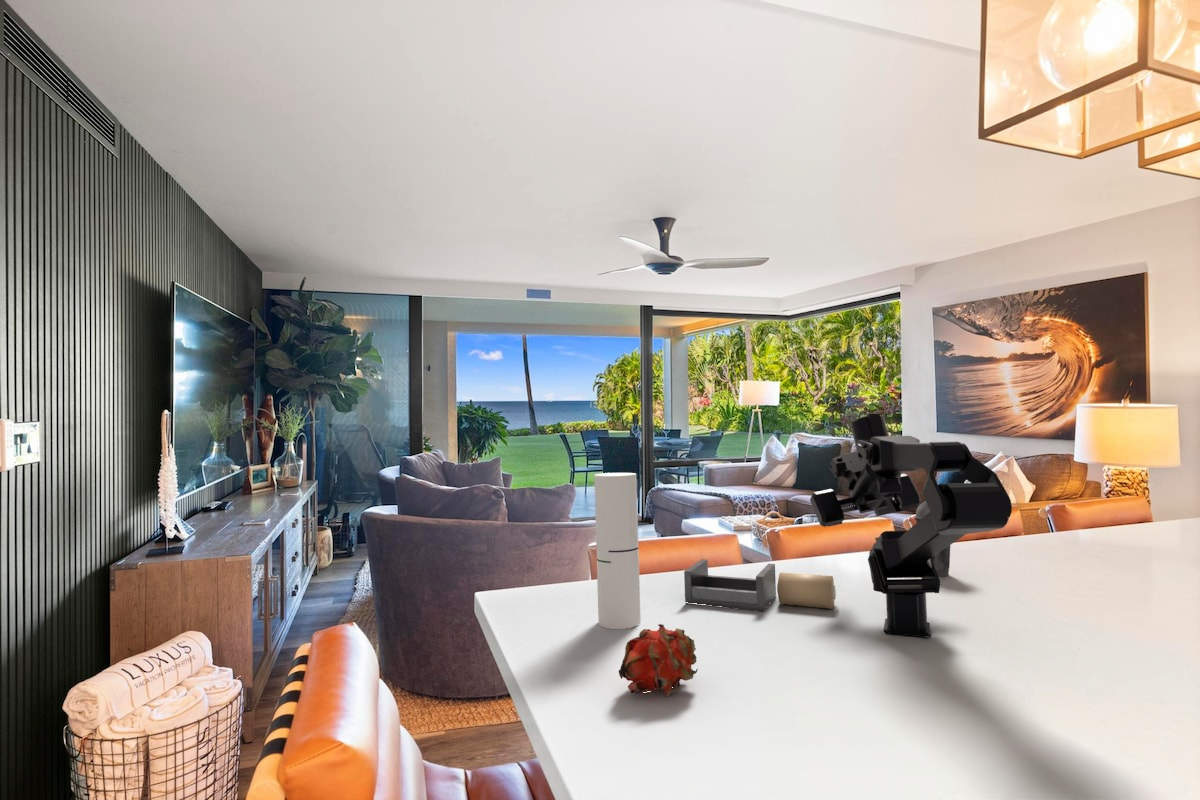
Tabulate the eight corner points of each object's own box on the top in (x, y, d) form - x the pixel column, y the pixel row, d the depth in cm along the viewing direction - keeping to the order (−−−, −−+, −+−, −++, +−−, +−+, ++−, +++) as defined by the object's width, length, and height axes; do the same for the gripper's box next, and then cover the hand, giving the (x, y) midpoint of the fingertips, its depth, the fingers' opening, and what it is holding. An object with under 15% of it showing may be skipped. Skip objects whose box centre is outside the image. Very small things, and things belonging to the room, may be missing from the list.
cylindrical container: (637, 629, 108) (632, 475, 109) (594, 628, 109) (590, 476, 110) (643, 617, 115) (639, 472, 116) (603, 615, 116) (598, 472, 117)
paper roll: (837, 603, 120) (836, 572, 120) (833, 613, 114) (832, 580, 115) (781, 598, 124) (780, 569, 124) (776, 607, 119) (774, 576, 119)
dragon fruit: (703, 691, 87) (629, 730, 80) (665, 640, 92) (593, 673, 86) (722, 651, 82) (646, 689, 76) (681, 600, 88) (606, 631, 81)
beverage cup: (909, 573, 140) (905, 478, 141) (933, 569, 144) (929, 476, 144) (939, 580, 134) (935, 481, 135) (964, 575, 137) (959, 478, 138)
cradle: (776, 595, 126) (774, 564, 126) (764, 611, 116) (762, 576, 116) (702, 589, 132) (701, 559, 132) (685, 603, 122) (684, 571, 122)
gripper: (906, 432, 121) (881, 473, 134) (807, 452, 120) (792, 491, 133) (935, 486, 114) (906, 523, 127) (831, 507, 113) (813, 543, 126)
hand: (853, 518), depth 129 cm, fingers open, 9 cm apart
